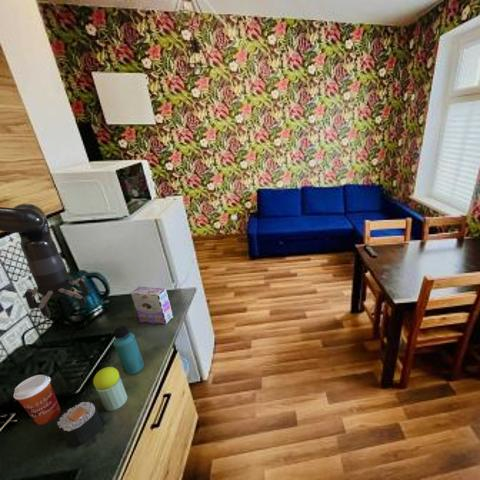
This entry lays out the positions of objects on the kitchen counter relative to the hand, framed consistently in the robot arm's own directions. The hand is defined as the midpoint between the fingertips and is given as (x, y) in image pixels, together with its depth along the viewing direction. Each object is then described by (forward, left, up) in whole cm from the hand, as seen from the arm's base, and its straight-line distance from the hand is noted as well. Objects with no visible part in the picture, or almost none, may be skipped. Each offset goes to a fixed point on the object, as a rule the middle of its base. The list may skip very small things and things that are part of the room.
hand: (66, 311), depth 89 cm
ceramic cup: (+13, -16, -27) cm, 35 cm away
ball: (+13, -16, -16) cm, 27 cm away
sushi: (+8, -25, -28) cm, 38 cm away
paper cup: (-5, -16, -28) cm, 32 cm away
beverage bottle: (+15, -4, -28) cm, 32 cm away
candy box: (+15, +26, -28) cm, 41 cm away
